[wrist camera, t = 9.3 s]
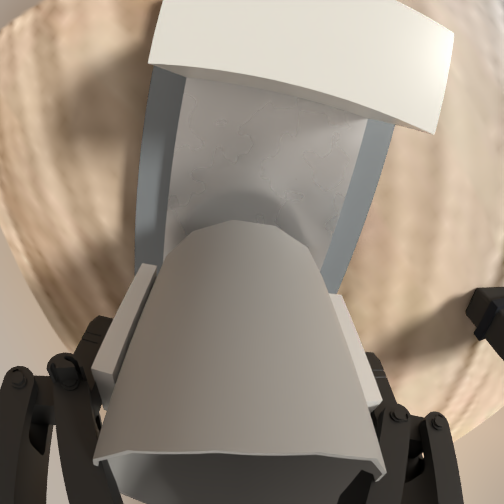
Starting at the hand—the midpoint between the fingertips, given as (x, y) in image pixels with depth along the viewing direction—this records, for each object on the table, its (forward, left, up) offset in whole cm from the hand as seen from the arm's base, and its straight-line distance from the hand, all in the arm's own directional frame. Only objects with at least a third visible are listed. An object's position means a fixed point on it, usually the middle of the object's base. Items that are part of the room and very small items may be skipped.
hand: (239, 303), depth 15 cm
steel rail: (0, 0, -4) cm, 4 cm away
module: (+12, 0, -3) cm, 12 cm away
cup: (0, 0, -1) cm, 1 cm away
